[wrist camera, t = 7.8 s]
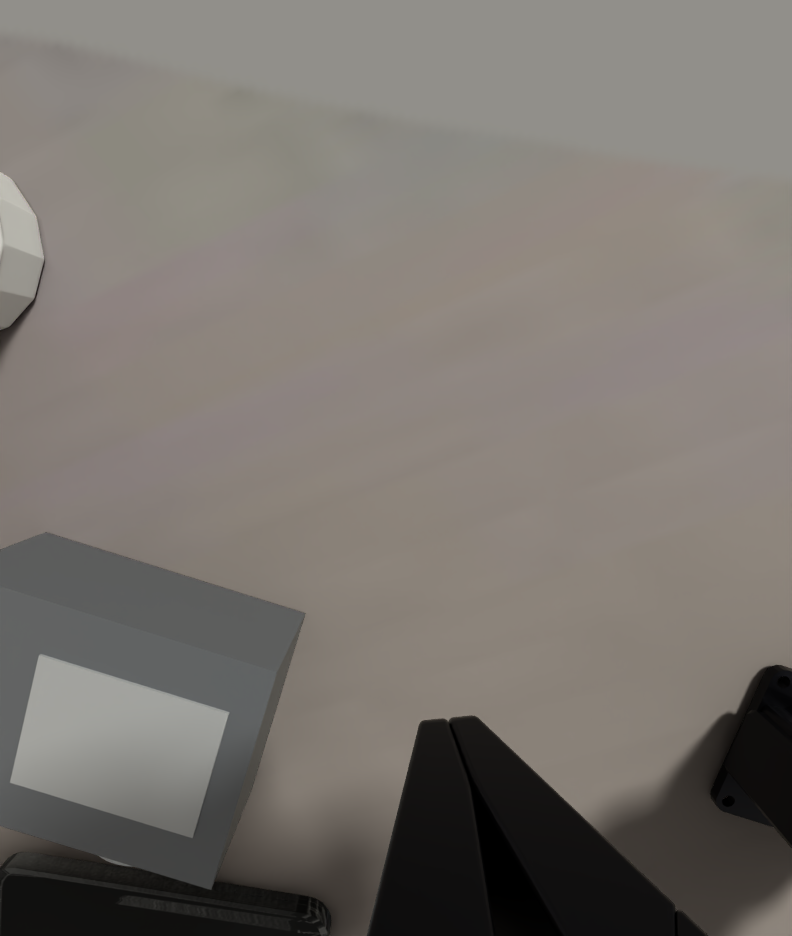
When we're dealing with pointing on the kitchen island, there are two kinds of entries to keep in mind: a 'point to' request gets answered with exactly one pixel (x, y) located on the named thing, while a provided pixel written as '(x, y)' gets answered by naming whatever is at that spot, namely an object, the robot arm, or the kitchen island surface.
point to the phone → (141, 903)
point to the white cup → (17, 253)
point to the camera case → (132, 705)
